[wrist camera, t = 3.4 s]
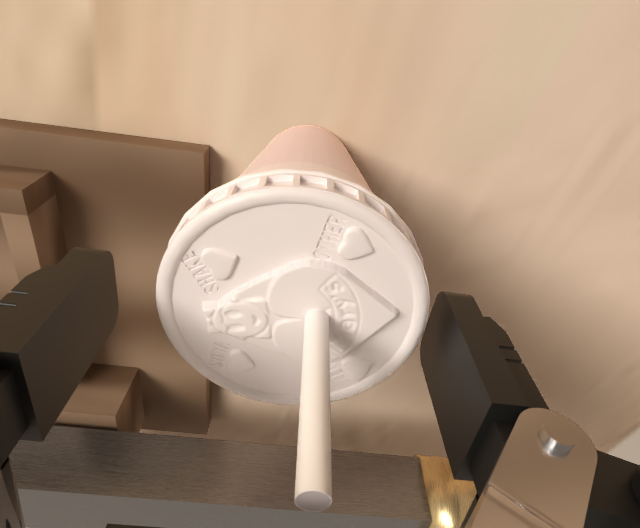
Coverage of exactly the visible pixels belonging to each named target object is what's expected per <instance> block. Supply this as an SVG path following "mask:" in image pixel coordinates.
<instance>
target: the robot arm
mask: <svg viewBox="0 0 640 528" xmlns="http://www.w3.org/2000/svg"><path fill="white" fill-rule="evenodd" d="M118 309H119V303H118V294H117V285H116V276H115V267H114V259H113V256H112V254H111V252H110V251H105V250H96V249H88V248H80V247H75V248H73V249H72V250H70V251H69V252H68V253H67V254H66V256H65V257H64V258H63V259H62V260H61V261H60V262H59V263H58V264H57V265H56V266H53V265H47V266H45V267H43V268H41V269H39V270H37V271H35V272H33V273H31V274H29V275H27V276H25V277H24V278H23V279H22V280H21V281H20V282H19V283H18V284H17V285H16V286H15V287H14V288H13V289H12V290H11V293H7V294H6V295H5V296H4V297H3V298H2V299H1V300H0V528H25V524H24V519H23V514H22V509H21V504H20V499H19V494H18V489H17V484H16V479H15V474H14V469H13V464H12V460H11V457H10V455H9V454H10V453H11V452H12V450H13V449H14V447H15V446H16V444H17V443H18V441H19V440H26V441H37V442H43V441H44V439H45V437H46V436H47V434H48V433H49V431H50V429H51V428H52V426H53V425H54V423H55V421H56V420H57V418H58V417H59V415H60V413H61V412H62V410H63V409H64V407H65V405H66V404H67V402H68V401H69V399H70V397H71V396H72V394H73V393H74V391H75V389H76V388H77V386H78V385H79V383H80V381H81V380H82V378H83V377H84V375H85V373H86V372H87V370H88V369H89V367H90V365H91V364H92V362H93V361H94V359H95V357H96V356H97V354H98V353H99V351H100V349H101V348H102V346H103V345H104V343H105V341H106V340H107V338H108V337H109V335H110V333H111V332H112V330H113V328H114V326H115V324H116V321H117V317H118ZM420 358H421V364H422V368H423V371H424V375H425V378H426V382H427V385H428V389H429V393H430V396H431V400H432V403H433V407H434V410H435V414H436V417H437V421H438V424H439V428H440V432H441V435H442V439H443V442H444V446H445V449H446V453H447V456H448V460H449V464H450V467H451V471H452V474H453V478H454V480H466V481H474V484H475V488H476V491H477V493H476V494H475V496H474V498H473V500H472V502H471V504H470V506H469V508H468V510H467V512H466V515H465V517H464V519H463V521H462V523H461V525H460V527H459V528H640V465H637V464H634V463H631V462H628V461H625V460H623V459H620V458H617V457H614V456H612V455H609V454H606V453H603V452H601V451H598V450H596V448H595V446H594V444H593V442H592V441H591V439H590V438H589V436H588V435H587V434H586V433H585V432H584V431H583V430H582V429H581V428H580V427H579V426H578V425H577V424H575V423H574V422H573V421H571V420H570V419H568V418H567V417H565V416H563V415H561V414H559V413H557V412H554V411H552V410H549V408H548V406H547V404H546V403H545V401H544V399H543V397H542V396H541V394H540V392H539V390H538V388H537V387H536V385H535V383H534V381H533V380H532V378H531V376H530V374H529V372H528V371H527V369H526V367H525V365H524V364H522V363H521V361H522V360H521V358H520V356H519V355H518V353H517V351H516V350H514V346H513V344H512V342H511V340H510V339H509V337H508V335H507V333H506V332H505V331H504V330H503V329H502V328H501V327H500V326H499V325H498V324H497V323H496V322H495V321H493V320H492V319H491V318H490V317H483V315H482V314H481V312H480V310H479V308H478V306H477V304H476V302H475V300H474V298H473V297H472V296H471V295H465V294H456V293H448V292H440V293H439V294H438V295H437V297H436V300H435V303H434V305H433V308H432V311H431V314H430V317H429V320H428V323H427V326H426V329H425V332H424V335H423V338H422V342H421V348H420ZM106 528H161V527H148V526H134V525H121V524H108V523H107V526H106Z"/></svg>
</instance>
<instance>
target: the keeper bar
mask: <svg viewBox="0 0 640 528" xmlns="http://www.w3.org/2000/svg"><path fill="white" fill-rule="evenodd" d="M9 455H10V457H11V460H12V464H13V469H14V474H15V479H16V484H17V489H18V494H19V499H20V504H21V509H22V514H23V519H24V524H25V527H28V528H106V526H107V523H108V524H121V525H134V526H148V527H161V528H459V527H460V525H461V523H462V521H463V519H464V517H465V515H466V512H467V510H468V508H469V506H470V504H471V502H472V500H473V498H474V496H475V494H476V493H477V491H476V488H475V484H474V481H466V480H454V478H453V474H452V471H451V467H450V464H449V460H448V458H446V457H435V456H424V455H415V456H414V457H408V456H396V455H385V454H374V453H362V452H351V451H339V450H331V469H332V504H331V505H330V507H328V508H327V509H325V510H322V511H317V512H310V511H305V510H302V509H300V508H298V507H297V506H296V505H295V502H294V497H295V480H296V462H297V447H294V446H282V445H271V444H260V443H248V442H237V441H225V440H214V439H202V438H191V437H180V436H168V435H157V434H145V433H134V432H123V431H111V430H100V429H88V428H77V427H66V426H54V425H53V426H52V428H51V429H50V431H49V433H48V434H47V436H46V437H45V439H44V441H43V442H37V441H26V440H19V441H18V443H17V444H16V446H15V447H14V449H13V450H12V452H11V453H10V454H9Z"/></svg>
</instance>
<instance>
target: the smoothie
mask: <svg viewBox="0 0 640 528" xmlns="http://www.w3.org/2000/svg"><path fill="white" fill-rule="evenodd" d="M429 301H430V297H429V286H428V281H427V277H426V274H425V271H424V265H423V258H422V256H421V253H420V251H419V248H418V246H417V243H416V241H415V239H414V236H413V234H412V231H411V230H410V229H409V228H408V226H407V225H406V224H405V223H404V221H403V220H402V219H401V218H400V217H399V215H398V214H397V213H396V212H395V211H394V209H393V208H392V207H391V206H390V205H389V204H388V203H386V202H385V201H383V200H382V199H380V198H379V197H377V196H376V195H374V194H373V193H372V191H371V189H370V188H369V186H368V184H367V183H366V181H365V179H364V178H363V176H362V174H361V173H360V171H359V169H358V168H357V166H356V164H355V163H354V161H353V159H352V158H351V156H350V154H349V153H348V151H347V149H346V148H345V146H344V145H343V143H342V142H341V141H340V139H339V138H338V137H336V136H335V135H334V134H333V133H331V132H330V131H328V130H326V129H324V128H321V127H318V126H314V125H298V126H294V127H290V128H288V129H286V130H284V131H282V132H281V133H279V134H278V135H277V136H276V137H275V138H274V139H273V140H272V141H271V142H270V143H269V144H268V145H267V146H266V147H265V148H264V150H263V151H262V152H261V153H260V154H259V155H258V156H257V157H256V158H255V159H254V160H253V162H252V163H251V164H250V165H249V166H248V167H247V168H246V169H245V170H244V171H243V172H242V174H241V175H240V176H239V177H238V178H236V179H234V180H232V181H230V182H228V183H226V184H224V185H222V186H219V187H217V188H215V189H213V190H211V191H210V192H208V193H207V194H206V195H205V196H204V197H203V198H202V199H201V200H200V201H198V202H197V203H196V204H195V205H194V206H193V207H192V208H191V209H189V210H188V211H187V212H186V213H185V214H184V216H183V218H182V219H181V221H180V223H179V224H178V226H177V228H176V230H175V231H174V233H173V235H172V236H171V238H170V240H169V243H168V248H167V250H166V252H165V253H164V256H163V258H162V261H161V263H160V267H159V271H158V274H157V282H156V302H157V309H158V313H159V317H160V320H161V323H162V325H163V328H164V330H165V332H166V334H167V336H168V338H169V340H170V341H171V343H172V344H173V346H174V347H175V349H176V350H177V351H178V352H179V354H180V355H181V356H182V357H183V358H184V359H185V360H186V361H187V362H188V364H190V365H191V366H192V367H193V368H194V369H195V370H196V371H197V372H199V373H200V374H202V375H203V376H204V377H206V378H207V379H209V380H210V381H212V382H213V383H215V384H217V385H219V386H221V387H223V388H225V389H227V390H229V391H231V392H233V393H235V394H238V395H241V396H244V397H247V398H250V399H254V400H257V401H262V402H268V403H273V404H279V405H300V410H299V427H298V445H297V462H296V480H295V497H294V502H295V505H296V506H297V507H298V508H300V509H302V510H305V511H310V512H317V511H322V510H325V509H327V508H328V507H330V505H331V504H332V469H331V408H330V402H333V401H337V400H341V399H345V398H348V397H351V396H353V395H356V394H359V393H361V392H363V391H366V390H368V389H369V388H371V387H373V386H375V385H377V384H378V383H380V382H382V381H383V380H385V379H386V378H387V377H389V376H390V375H391V374H392V373H394V372H395V371H396V370H397V369H398V368H399V367H400V366H401V365H402V364H403V363H404V362H405V361H406V360H407V359H408V358H409V356H410V355H411V353H412V352H413V351H414V349H415V348H416V346H417V344H418V342H419V341H420V339H421V336H422V334H423V332H424V329H425V326H426V323H427V319H428V313H429Z"/></svg>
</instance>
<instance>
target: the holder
mask: <svg viewBox="0 0 640 528" xmlns="http://www.w3.org/2000/svg"><path fill="white" fill-rule="evenodd" d="M208 192H210V146H209V145H201V144H193V143H186V142H178V141H170V140H162V139H155V138H147V137H139V136H131V135H124V134H116V133H108V132H100V131H93V130H85V129H77V128H69V127H62V126H54V125H46V124H38V123H30V122H23V121H15V120H7V119H0V300H1V299H2V298H3V297H4V296H5V295H6V294H7V293H11V290H12V289H13V288H14V287H15V286H16V285H17V284H18V283H19V282H20V281H21V280H22V279H23V278H24V277H25V276H27V275H29V274H31V273H33V272H35V271H37V270H39V269H41V268H43V267H45V266H47V265H53V266H56V265H57V264H58V263H59V262H60V261H61V260H62V259H63V258H64V257H65V256H66V254H67V253H68V252H69V251H70V250H72V249H73V248H75V247H80V248H88V249H96V250H105V251H110V252H111V254H112V256H113V259H114V267H115V276H116V285H117V294H118V303H119V309H118V317H117V321H116V324H115V326H114V328H113V330H112V332H111V333H110V335H109V337H108V338H107V340H106V341H105V343H104V345H103V346H102V348H101V349H100V351H99V353H98V354H97V356H96V357H95V359H94V361H93V362H92V364H91V365H90V367H89V369H88V370H87V372H86V373H85V375H84V377H83V378H82V380H81V381H80V383H79V385H78V386H77V388H76V389H75V391H74V393H73V394H72V396H71V397H70V399H69V401H68V402H67V404H66V405H65V407H64V409H63V410H62V412H61V413H60V415H59V417H58V418H57V420H56V421H55V423H54V426H66V427H77V428H88V429H100V430H111V431H123V432H134V433H139V431H140V429H151V430H163V431H174V432H185V433H197V434H207V432H208V428H209V424H210V380H209V379H207V378H206V377H204V376H203V375H202V374H200V373H199V372H197V371H196V370H195V369H194V368H193V367H192V366H191V365H190V364H188V362H187V361H186V360H185V359H184V358H183V357H182V356H181V355H180V354H179V352H178V351H177V350H176V349H175V347H174V346H173V344H172V343H171V341H170V340H169V338H168V336H167V334H166V332H165V330H164V328H163V325H162V323H161V320H160V317H159V313H158V309H157V302H156V282H157V274H158V271H159V267H160V263H161V261H162V258H163V256H164V253H165V252H166V250H167V248H168V243H169V240H170V238H171V236H172V235H173V233H174V231H175V230H176V228H177V226H178V224H179V223H180V221H181V219H182V218H183V216H184V214H185V213H186V212H187V211H188V210H189V209H191V208H192V207H193V206H194V205H195V204H196V203H197V202H198V201H200V200H201V199H202V198H203V197H204V196H205V195H206V194H207V193H208Z"/></svg>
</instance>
